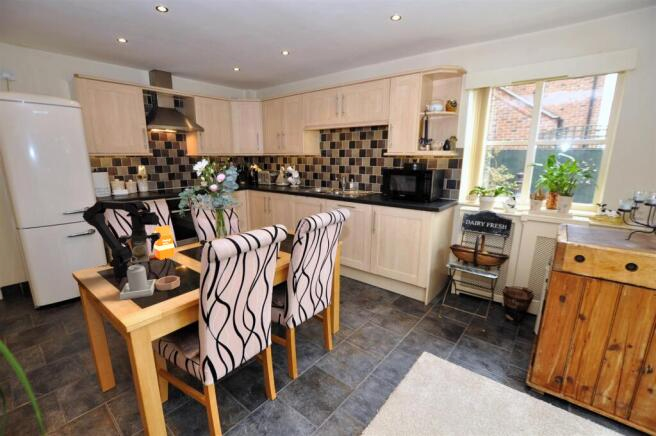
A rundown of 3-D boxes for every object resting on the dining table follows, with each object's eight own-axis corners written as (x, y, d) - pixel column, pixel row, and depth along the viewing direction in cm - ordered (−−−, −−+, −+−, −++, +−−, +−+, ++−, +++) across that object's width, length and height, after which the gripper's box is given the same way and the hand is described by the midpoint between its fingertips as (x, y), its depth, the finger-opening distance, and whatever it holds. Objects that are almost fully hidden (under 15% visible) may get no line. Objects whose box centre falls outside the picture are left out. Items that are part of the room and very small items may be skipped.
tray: (120, 300, 138) (119, 294, 137) (127, 288, 149) (126, 283, 149) (152, 295, 142) (151, 289, 142) (156, 284, 154) (155, 279, 153)
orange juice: (155, 257, 194) (151, 226, 190) (169, 253, 201) (166, 224, 196) (160, 259, 189) (156, 228, 185) (175, 256, 196) (171, 226, 191)
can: (134, 295, 141) (131, 270, 138) (126, 291, 145) (123, 267, 142) (151, 288, 147) (148, 265, 144) (143, 285, 151) (139, 262, 148)
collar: (154, 291, 146) (154, 285, 145) (158, 283, 156) (157, 277, 155) (178, 288, 150) (178, 282, 149) (180, 280, 159) (179, 274, 159)
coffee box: (131, 263, 183) (128, 237, 179) (132, 260, 188) (129, 235, 185) (149, 261, 187) (145, 235, 183) (149, 258, 192) (146, 233, 189)
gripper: (112, 230, 148) (117, 260, 151) (155, 226, 154) (159, 255, 158) (118, 225, 158) (123, 253, 161) (159, 221, 164) (162, 249, 168)
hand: (142, 253), depth 162 cm, fingers open, 9 cm apart
